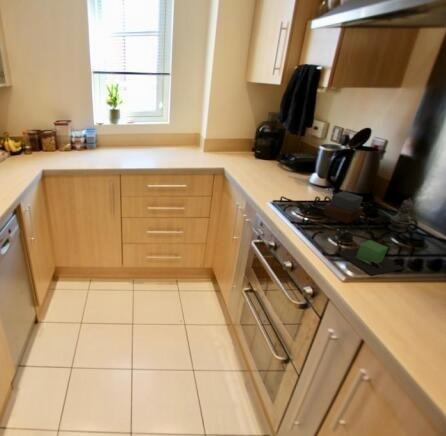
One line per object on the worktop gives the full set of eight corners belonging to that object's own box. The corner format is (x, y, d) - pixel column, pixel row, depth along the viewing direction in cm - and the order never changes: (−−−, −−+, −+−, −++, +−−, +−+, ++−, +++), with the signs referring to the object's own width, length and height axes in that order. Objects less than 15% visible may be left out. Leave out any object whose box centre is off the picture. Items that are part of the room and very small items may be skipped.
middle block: (340, 200, 124) (343, 190, 122) (359, 206, 118) (363, 197, 117) (329, 204, 121) (332, 194, 119) (348, 211, 116) (352, 201, 114)
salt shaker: (389, 222, 116) (402, 192, 111) (409, 228, 112) (424, 197, 107) (384, 227, 113) (397, 197, 108) (404, 234, 109) (419, 202, 103)
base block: (336, 208, 127) (339, 198, 125) (360, 217, 120) (364, 207, 118) (322, 214, 123) (325, 203, 121) (346, 223, 116) (350, 213, 114)
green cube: (364, 253, 99) (369, 239, 97) (382, 261, 95) (388, 247, 93) (355, 257, 97) (360, 244, 95) (373, 266, 93) (379, 252, 91)
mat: (366, 247, 103) (367, 246, 102) (404, 269, 92) (404, 268, 92) (336, 253, 100) (336, 252, 100) (370, 276, 90) (371, 274, 90)
